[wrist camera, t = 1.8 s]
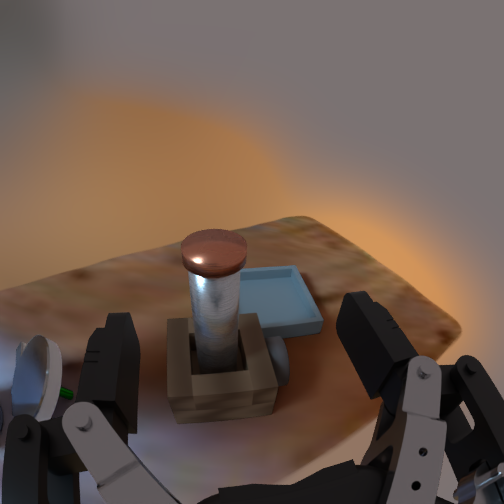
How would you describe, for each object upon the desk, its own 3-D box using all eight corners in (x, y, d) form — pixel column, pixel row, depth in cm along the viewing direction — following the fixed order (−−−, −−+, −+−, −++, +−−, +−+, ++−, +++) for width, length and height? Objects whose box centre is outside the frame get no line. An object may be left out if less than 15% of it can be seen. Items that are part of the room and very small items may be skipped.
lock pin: (197, 388, 27) (180, 265, 19) (194, 352, 31) (181, 230, 23) (244, 384, 28) (252, 261, 20) (236, 349, 32) (241, 227, 24)
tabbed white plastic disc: (11, 360, 27) (15, 297, 25) (61, 369, 33) (75, 310, 30) (17, 459, 17) (9, 409, 14) (81, 464, 22) (95, 418, 20)
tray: (226, 344, 36) (226, 331, 35) (216, 283, 47) (216, 270, 45) (319, 333, 39) (323, 320, 37) (293, 277, 49) (295, 265, 48)
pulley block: (177, 423, 26) (167, 397, 23) (174, 352, 35) (167, 318, 31) (293, 410, 29) (304, 381, 25) (272, 343, 37) (278, 310, 34)
